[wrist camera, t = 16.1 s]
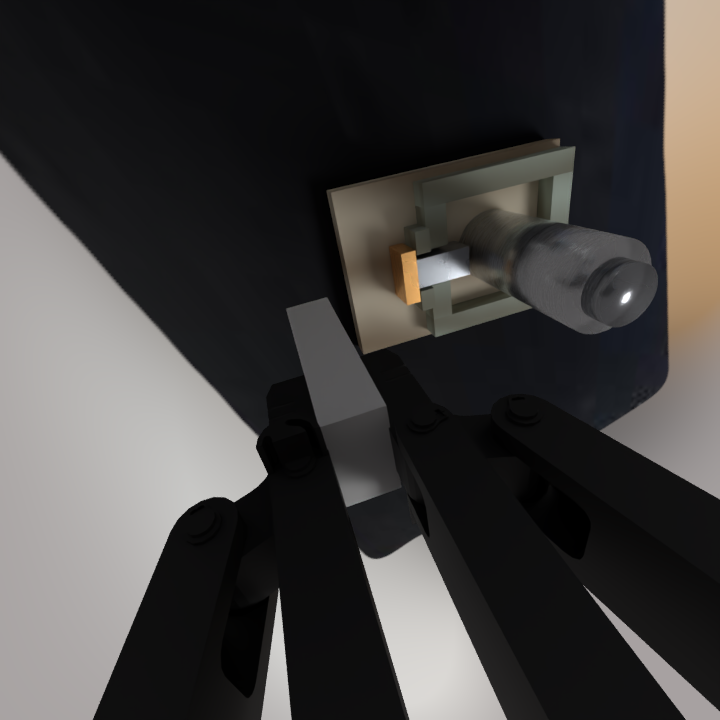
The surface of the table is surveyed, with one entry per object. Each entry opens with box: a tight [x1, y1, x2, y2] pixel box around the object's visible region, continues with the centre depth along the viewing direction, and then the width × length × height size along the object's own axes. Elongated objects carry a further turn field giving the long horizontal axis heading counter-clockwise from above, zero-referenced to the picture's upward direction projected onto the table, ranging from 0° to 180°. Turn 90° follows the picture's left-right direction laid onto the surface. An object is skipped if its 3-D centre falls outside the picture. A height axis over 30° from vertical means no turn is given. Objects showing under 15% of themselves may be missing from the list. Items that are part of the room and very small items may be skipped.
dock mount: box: [326, 139, 575, 354], centre depth 28 cm, size 12×16×4 cm
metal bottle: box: [459, 209, 658, 334], centre depth 23 cm, size 5×5×12 cm
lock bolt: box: [389, 241, 470, 305], centre depth 27 cm, size 4×5×2 cm
